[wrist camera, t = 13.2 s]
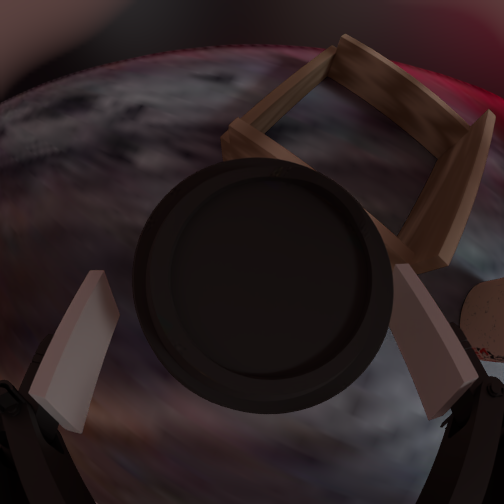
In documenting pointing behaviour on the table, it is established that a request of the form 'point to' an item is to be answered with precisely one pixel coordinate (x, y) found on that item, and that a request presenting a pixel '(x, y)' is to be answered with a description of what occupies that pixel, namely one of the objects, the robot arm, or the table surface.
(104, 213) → the table surface
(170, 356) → the coffee cup
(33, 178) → the table surface
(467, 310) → the teacup with lid
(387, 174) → the table surface
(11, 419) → the robot arm
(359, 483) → the table surface
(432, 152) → the frame
